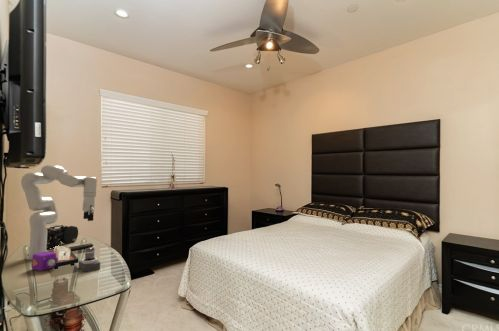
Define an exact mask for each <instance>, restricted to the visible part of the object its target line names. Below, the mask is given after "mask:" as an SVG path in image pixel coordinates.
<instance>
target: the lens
mask: <svg viewBox="0 0 499 331" xmlns="http://www.w3.org/2000/svg"><path fill="white" fill-rule="evenodd" d="M84 255H85V256H84V258H85V261H90V260H94V257H95V247H91V246H90V247H87V248H85V250H84Z"/></svg>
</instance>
